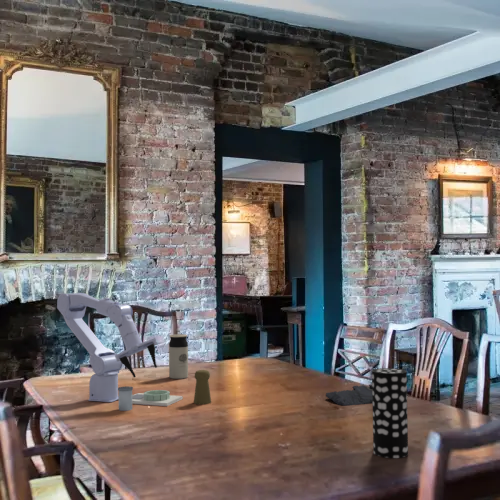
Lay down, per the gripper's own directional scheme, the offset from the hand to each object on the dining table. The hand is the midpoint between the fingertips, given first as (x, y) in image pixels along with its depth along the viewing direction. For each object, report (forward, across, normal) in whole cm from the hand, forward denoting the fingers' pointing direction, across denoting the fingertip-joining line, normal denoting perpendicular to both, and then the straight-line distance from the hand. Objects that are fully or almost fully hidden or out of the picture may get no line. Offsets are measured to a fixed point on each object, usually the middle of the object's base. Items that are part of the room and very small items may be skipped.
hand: (145, 371), depth 204 cm
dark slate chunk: (+39, +63, +5) cm, 74 cm away
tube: (+9, -10, -1) cm, 14 cm away
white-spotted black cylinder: (+55, +47, -54) cm, 90 cm away
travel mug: (-3, +11, +54) cm, 55 cm away
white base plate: (+8, -2, +10) cm, 13 cm away
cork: (+17, +14, +6) cm, 22 cm away
